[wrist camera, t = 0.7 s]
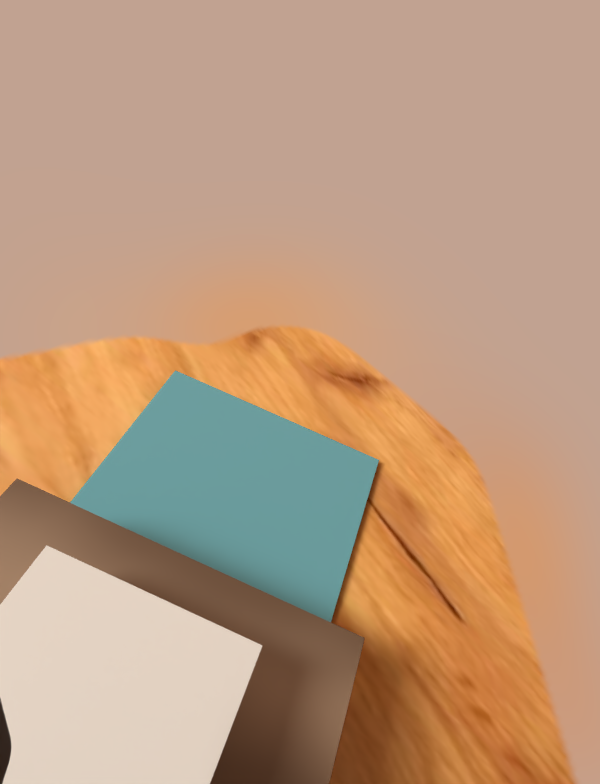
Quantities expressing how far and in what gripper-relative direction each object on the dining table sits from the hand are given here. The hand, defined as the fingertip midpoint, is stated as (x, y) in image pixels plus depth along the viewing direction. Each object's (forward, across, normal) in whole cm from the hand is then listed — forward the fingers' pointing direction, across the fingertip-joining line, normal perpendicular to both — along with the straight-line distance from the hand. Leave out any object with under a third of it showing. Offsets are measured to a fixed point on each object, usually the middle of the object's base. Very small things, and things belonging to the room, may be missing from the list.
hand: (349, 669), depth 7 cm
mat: (+16, +3, +4) cm, 17 cm away
